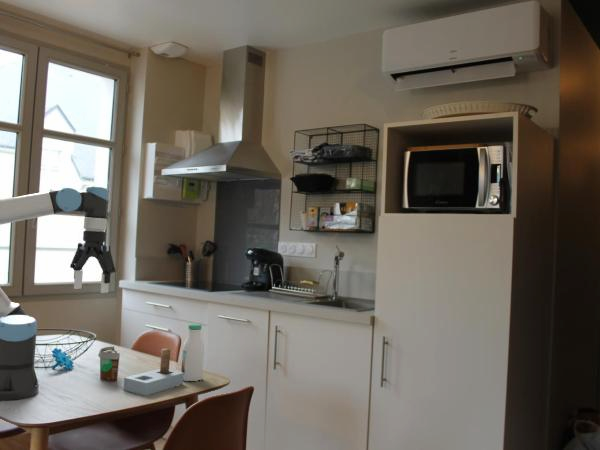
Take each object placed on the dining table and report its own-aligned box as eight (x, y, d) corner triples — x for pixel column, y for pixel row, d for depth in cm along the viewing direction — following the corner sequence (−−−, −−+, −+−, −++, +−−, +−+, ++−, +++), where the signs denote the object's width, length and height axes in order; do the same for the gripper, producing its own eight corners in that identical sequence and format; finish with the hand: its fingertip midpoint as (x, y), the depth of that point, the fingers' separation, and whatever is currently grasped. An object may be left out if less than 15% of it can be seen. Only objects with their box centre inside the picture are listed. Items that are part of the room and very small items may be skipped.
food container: (94, 374, 200) (96, 346, 200) (112, 373, 203) (114, 346, 203) (99, 383, 189) (101, 354, 189) (117, 382, 192) (119, 353, 192)
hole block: (145, 395, 179) (146, 383, 179) (123, 389, 184) (124, 377, 184) (182, 384, 194) (183, 372, 194) (161, 379, 199) (162, 368, 199)
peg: (163, 385, 191) (166, 350, 192) (157, 384, 193) (159, 349, 193) (170, 383, 194) (172, 349, 194) (163, 382, 195) (165, 348, 196)
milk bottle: (205, 378, 204) (209, 324, 205) (196, 383, 197) (200, 326, 197) (186, 375, 206) (190, 321, 207) (176, 380, 199) (180, 324, 199)
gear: (66, 369, 199) (50, 347, 201) (53, 380, 199) (37, 358, 200) (80, 366, 210) (65, 345, 211) (68, 376, 209) (53, 356, 211)
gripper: (128, 232, 192) (124, 293, 192) (79, 229, 205) (75, 286, 204) (111, 231, 186) (107, 295, 185) (62, 228, 198) (58, 287, 198)
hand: (90, 290), depth 195 cm, fingers open, 13 cm apart
